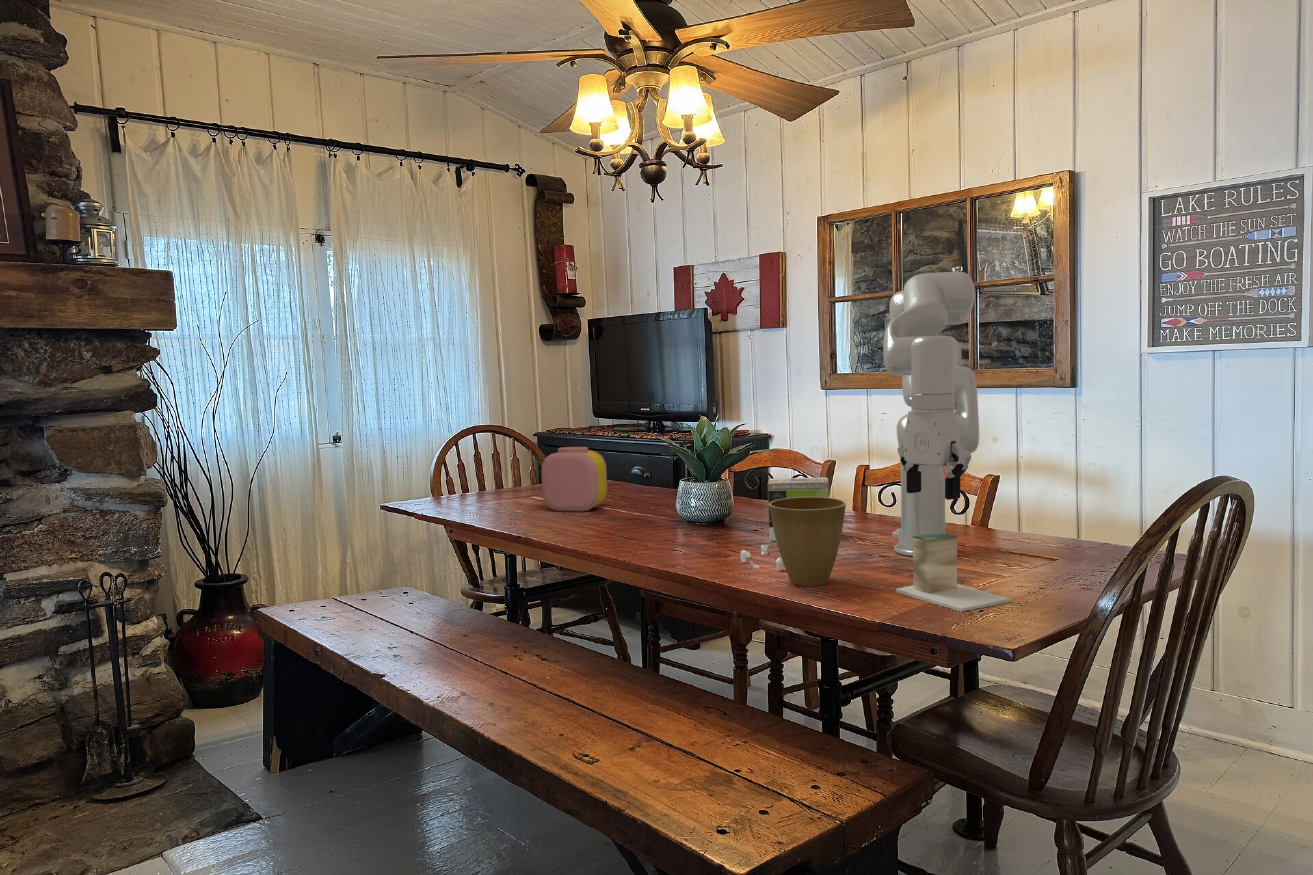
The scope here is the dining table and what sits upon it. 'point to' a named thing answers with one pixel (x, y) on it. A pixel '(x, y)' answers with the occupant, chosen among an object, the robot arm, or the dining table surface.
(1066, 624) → the dining table surface
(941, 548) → the beige and green box
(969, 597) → the rubber mat
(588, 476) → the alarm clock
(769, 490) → the tea box
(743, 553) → the game piece set
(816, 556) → the plant pot
